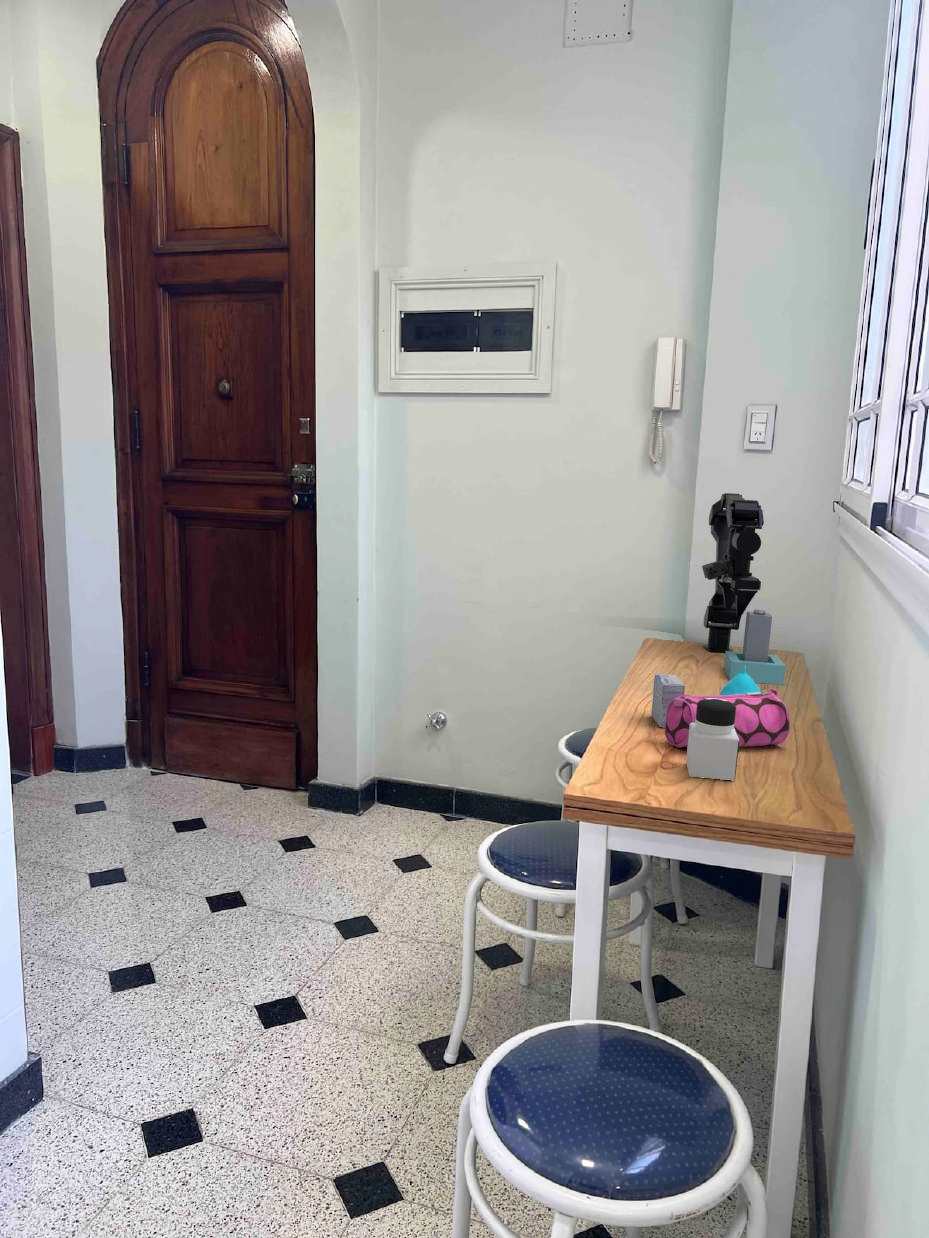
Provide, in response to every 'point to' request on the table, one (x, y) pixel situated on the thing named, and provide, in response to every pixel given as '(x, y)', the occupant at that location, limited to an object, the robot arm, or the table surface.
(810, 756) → the table surface
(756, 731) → the pencil case
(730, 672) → the teal base brick
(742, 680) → the toy shark
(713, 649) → the robot arm
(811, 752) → the table surface
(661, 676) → the medicine box
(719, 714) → the medicine bottle
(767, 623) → the grey knobbed block
